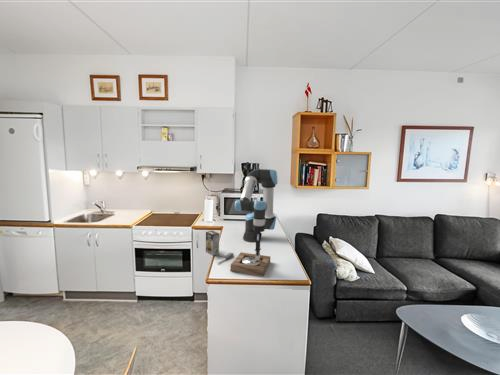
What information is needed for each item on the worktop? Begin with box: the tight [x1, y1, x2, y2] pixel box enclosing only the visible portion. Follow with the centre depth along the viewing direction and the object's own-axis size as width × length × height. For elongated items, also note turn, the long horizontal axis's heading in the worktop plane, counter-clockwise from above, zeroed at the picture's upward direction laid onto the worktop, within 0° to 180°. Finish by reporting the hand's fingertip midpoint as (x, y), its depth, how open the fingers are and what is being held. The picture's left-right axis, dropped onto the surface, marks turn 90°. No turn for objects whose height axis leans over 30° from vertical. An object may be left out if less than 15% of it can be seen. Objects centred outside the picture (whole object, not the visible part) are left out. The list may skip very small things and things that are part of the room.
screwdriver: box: [216, 252, 234, 264], centre depth 183 cm, size 17×3×2 cm, turn 149°
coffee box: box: [205, 230, 220, 256], centre depth 193 cm, size 9×6×16 cm
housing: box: [230, 251, 271, 277], centre depth 174 cm, size 22×22×5 cm
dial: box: [242, 257, 261, 266], centre depth 173 cm, size 13×13×8 cm
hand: (257, 259), depth 169 cm, fingers closed
